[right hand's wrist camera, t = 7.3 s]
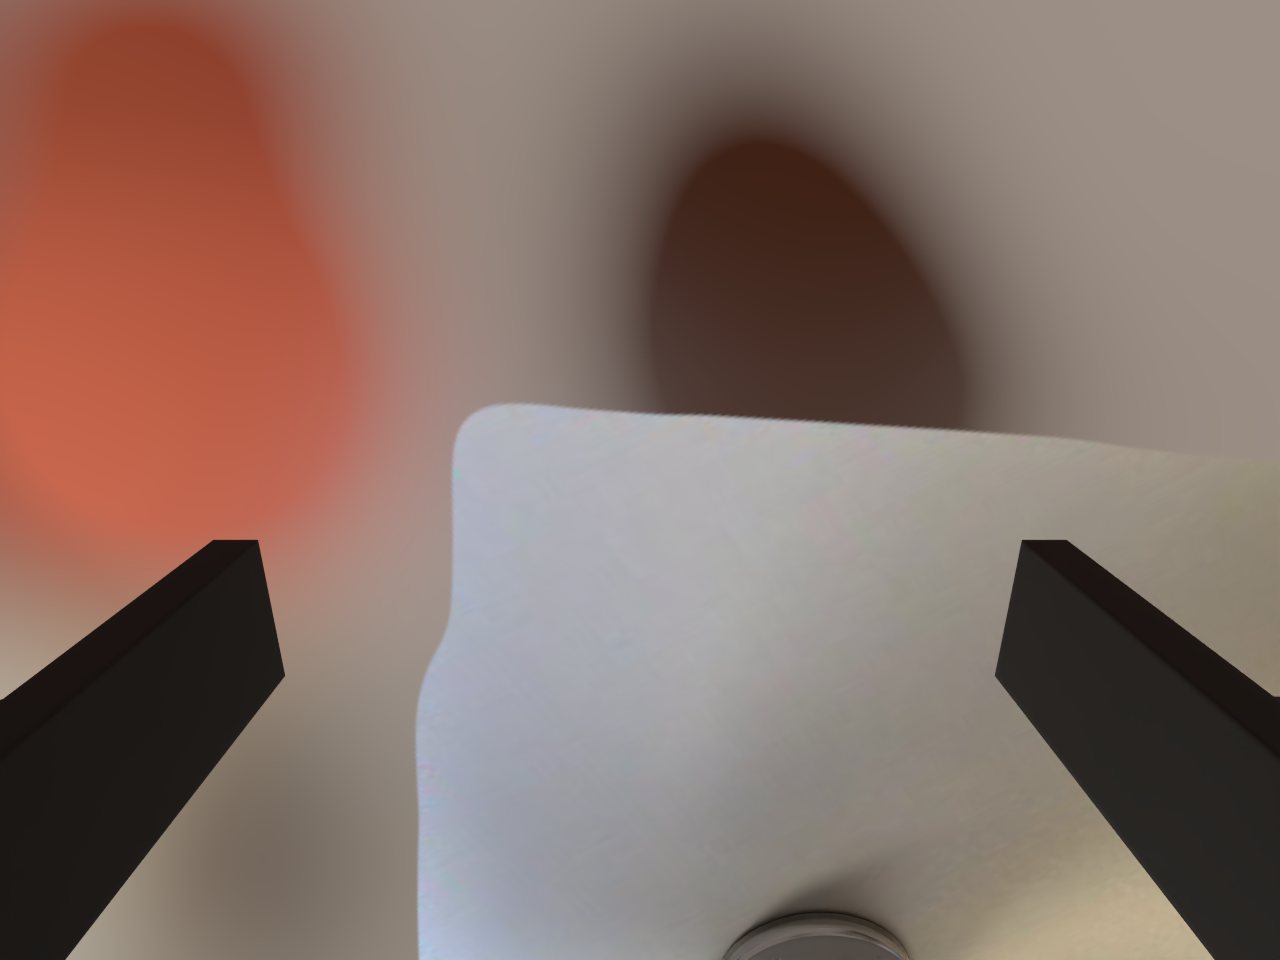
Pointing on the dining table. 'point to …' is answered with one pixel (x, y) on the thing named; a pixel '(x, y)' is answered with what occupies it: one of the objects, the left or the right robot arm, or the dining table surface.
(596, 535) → the dining table surface
